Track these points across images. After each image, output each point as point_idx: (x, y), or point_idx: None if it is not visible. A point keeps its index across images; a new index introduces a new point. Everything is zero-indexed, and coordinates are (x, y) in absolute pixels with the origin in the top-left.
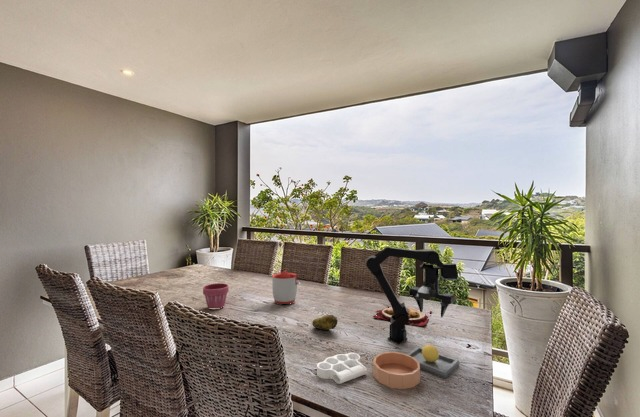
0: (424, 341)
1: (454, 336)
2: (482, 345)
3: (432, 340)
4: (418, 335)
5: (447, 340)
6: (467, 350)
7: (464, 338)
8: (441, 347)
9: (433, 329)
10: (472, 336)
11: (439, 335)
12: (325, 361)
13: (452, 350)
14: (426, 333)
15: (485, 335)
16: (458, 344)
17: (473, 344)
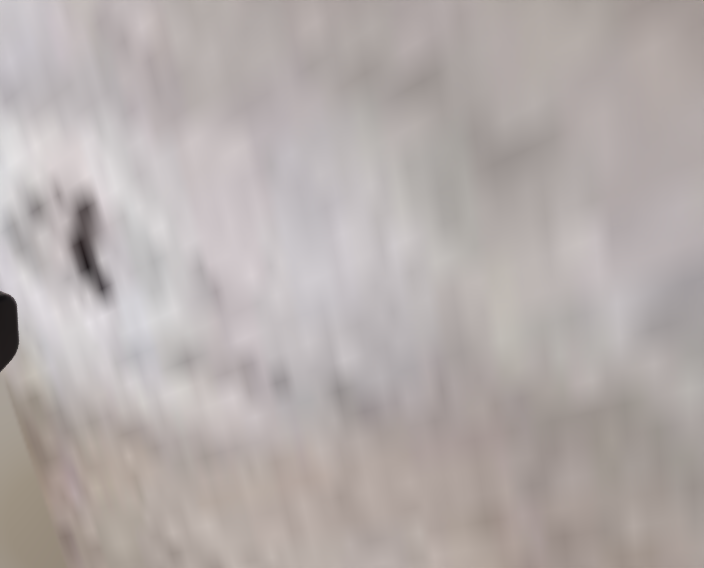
0: (585, 150)
1: (257, 434)
2: None
3: (471, 237)
4: (701, 340)
5: (298, 307)
6: (58, 116)
7: (167, 412)
8: (318, 48)
9: (502, 563)
10: (125, 473)
11: (408, 419)
12: None
13: (181, 22)
14: (579, 437)
15: (56, 513)
16: (173, 241)
17: (65, 299)
